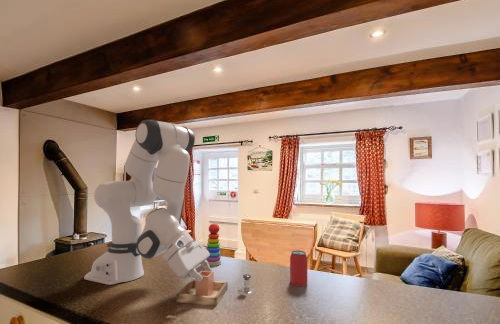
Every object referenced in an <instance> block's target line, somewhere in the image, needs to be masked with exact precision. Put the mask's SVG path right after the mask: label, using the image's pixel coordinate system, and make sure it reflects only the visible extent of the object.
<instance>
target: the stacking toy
mask: <svg viewBox="0 0 500 324" xmlns="http://www.w3.org/2000/svg"><path fill="white" fill-rule="evenodd" d="M219 231H220V226H219V224H217V223H215V222H214V223H213V222H212V223H210V225H208V232H209V234H208V236H207V237H208V239H207V243H206V246H207V247H205V248H206V249H207V250H208V251H209V253H210V256H209V257H208V258H207V259H206V260H207V261H208V264H209V267H216V266H219V265H221V264H222V259H221V254H222V253H221V247H220V246H221V243H220V238H219V237H220V234H219Z"/></svg>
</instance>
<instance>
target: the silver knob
mask: <svg viewBox="0 0 500 324" xmlns="http://www.w3.org/2000/svg"><path fill="white" fill-rule="evenodd" d="M242 278H243V287H241V288H239V289H238V290H237V293H238V294H239V295H240V296H247V297H248V296H253V295H255V294H256V292H257V290H256V289H255V288H253V287H251V286H250V285H251V282H250V281H251V278H252V275H251V274H249V273H246V274H243V275H242Z"/></svg>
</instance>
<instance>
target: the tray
mask: <svg viewBox="0 0 500 324" xmlns="http://www.w3.org/2000/svg"><path fill="white" fill-rule="evenodd" d="M195 282H196V278H194V279H193V278H192V279H191V280H190V281H189V282H188V283H186V285H185V286H183V287H182V288H181V289H180V290H179V291H178V292H177V293H176V294H175V295H176V299H175V300H176V301H175V304H178V303H182V304H184V303H185V304H192V305H193V304H194V305H202V306H203V305H204V306H211V307H217V306H218V304H219V303H220V302H221V300H222V298H224V295H225V293H227V291H228V287H229V286H228V282H226V281H217V280H213V293H212V294H211V296H202V295H195Z"/></svg>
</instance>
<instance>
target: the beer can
mask: <svg viewBox="0 0 500 324" xmlns="http://www.w3.org/2000/svg"><path fill="white" fill-rule="evenodd" d="M289 267H290V268H289V282H290V284H291V285H293V286H299V287H303V286H304V287H305V286H307V285H308V256H307V252H306V251H304V250H298V249H296V250H292V251H291V254H290V256H289Z"/></svg>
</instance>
